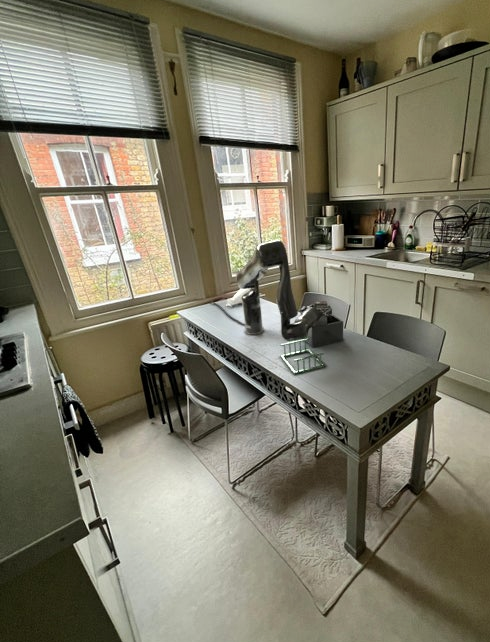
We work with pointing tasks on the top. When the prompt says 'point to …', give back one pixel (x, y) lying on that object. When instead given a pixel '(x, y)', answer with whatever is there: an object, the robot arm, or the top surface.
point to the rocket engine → (237, 297)
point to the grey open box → (326, 332)
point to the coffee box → (323, 318)
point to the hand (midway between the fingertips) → (321, 306)
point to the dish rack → (302, 358)
